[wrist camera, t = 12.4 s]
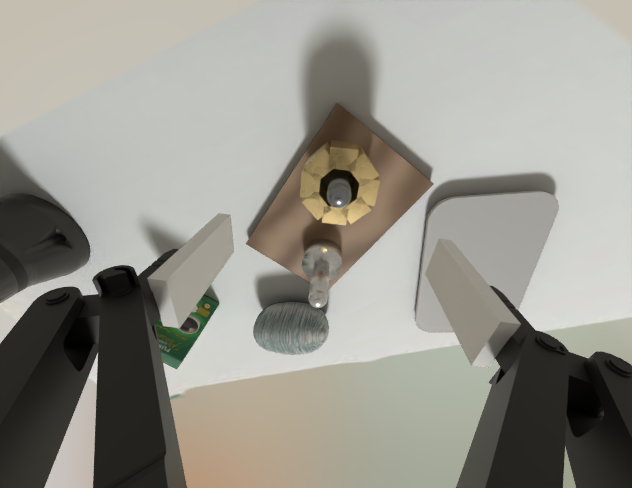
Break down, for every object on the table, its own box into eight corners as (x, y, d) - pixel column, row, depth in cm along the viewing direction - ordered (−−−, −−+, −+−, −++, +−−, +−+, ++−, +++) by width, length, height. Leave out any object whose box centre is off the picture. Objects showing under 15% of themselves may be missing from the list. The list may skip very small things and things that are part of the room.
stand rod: (297, 257, 39) (283, 307, 30) (318, 231, 37) (310, 276, 27) (326, 276, 41) (322, 329, 31) (349, 252, 38) (352, 302, 28)
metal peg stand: (307, 175, 33) (294, 206, 23) (334, 136, 30) (332, 152, 20) (343, 201, 34) (344, 239, 24) (372, 165, 31) (386, 193, 22)
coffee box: (177, 291, 48) (127, 349, 36) (182, 282, 46) (131, 339, 35) (214, 310, 50) (177, 371, 38) (220, 302, 48) (183, 363, 37)
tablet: (411, 323, 47) (414, 332, 45) (425, 194, 35) (430, 200, 33) (502, 322, 45) (509, 331, 43) (553, 184, 32) (566, 189, 30)
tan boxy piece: (304, 204, 32) (298, 219, 27) (308, 137, 28) (302, 143, 23) (365, 211, 31) (369, 228, 27) (379, 145, 27) (386, 153, 23)
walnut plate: (248, 239, 40) (245, 243, 39) (337, 102, 29) (336, 102, 28) (326, 286, 44) (325, 292, 43) (430, 180, 33) (433, 183, 32)
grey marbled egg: (256, 343, 49) (251, 371, 39) (255, 296, 48) (250, 313, 38) (322, 337, 51) (334, 363, 41) (322, 293, 50) (334, 307, 41)
